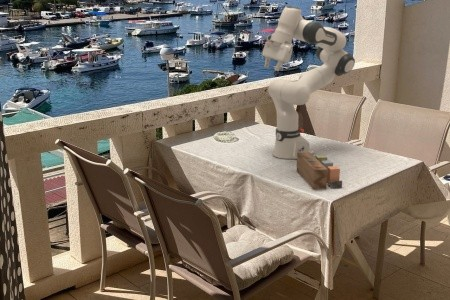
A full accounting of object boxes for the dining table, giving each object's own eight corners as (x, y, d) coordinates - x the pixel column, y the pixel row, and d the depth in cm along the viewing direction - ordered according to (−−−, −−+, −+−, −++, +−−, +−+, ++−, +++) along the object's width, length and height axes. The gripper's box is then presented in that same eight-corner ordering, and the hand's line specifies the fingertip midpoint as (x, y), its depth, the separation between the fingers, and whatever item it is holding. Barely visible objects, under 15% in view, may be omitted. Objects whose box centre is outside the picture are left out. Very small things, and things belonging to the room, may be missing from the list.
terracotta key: (335, 181, 263) (336, 166, 260) (338, 184, 259) (339, 168, 257) (326, 182, 262) (327, 166, 260) (329, 185, 258) (330, 169, 256)
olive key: (323, 169, 279) (324, 154, 276) (326, 172, 275) (327, 157, 273) (314, 170, 278) (315, 155, 276) (317, 173, 274) (318, 157, 272)
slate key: (329, 175, 271) (330, 160, 268) (332, 178, 267) (333, 162, 265) (320, 176, 270) (321, 160, 268) (323, 179, 266) (324, 163, 264)
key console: (322, 168, 281) (323, 150, 279) (341, 187, 256) (343, 167, 254) (296, 170, 279) (297, 151, 276) (313, 189, 254) (314, 169, 252)
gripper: (298, 45, 259) (287, 74, 260) (276, 40, 276) (266, 67, 278) (287, 40, 256) (276, 70, 257) (265, 35, 273) (255, 63, 275)
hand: (271, 69), depth 268 cm, fingers open, 8 cm apart
